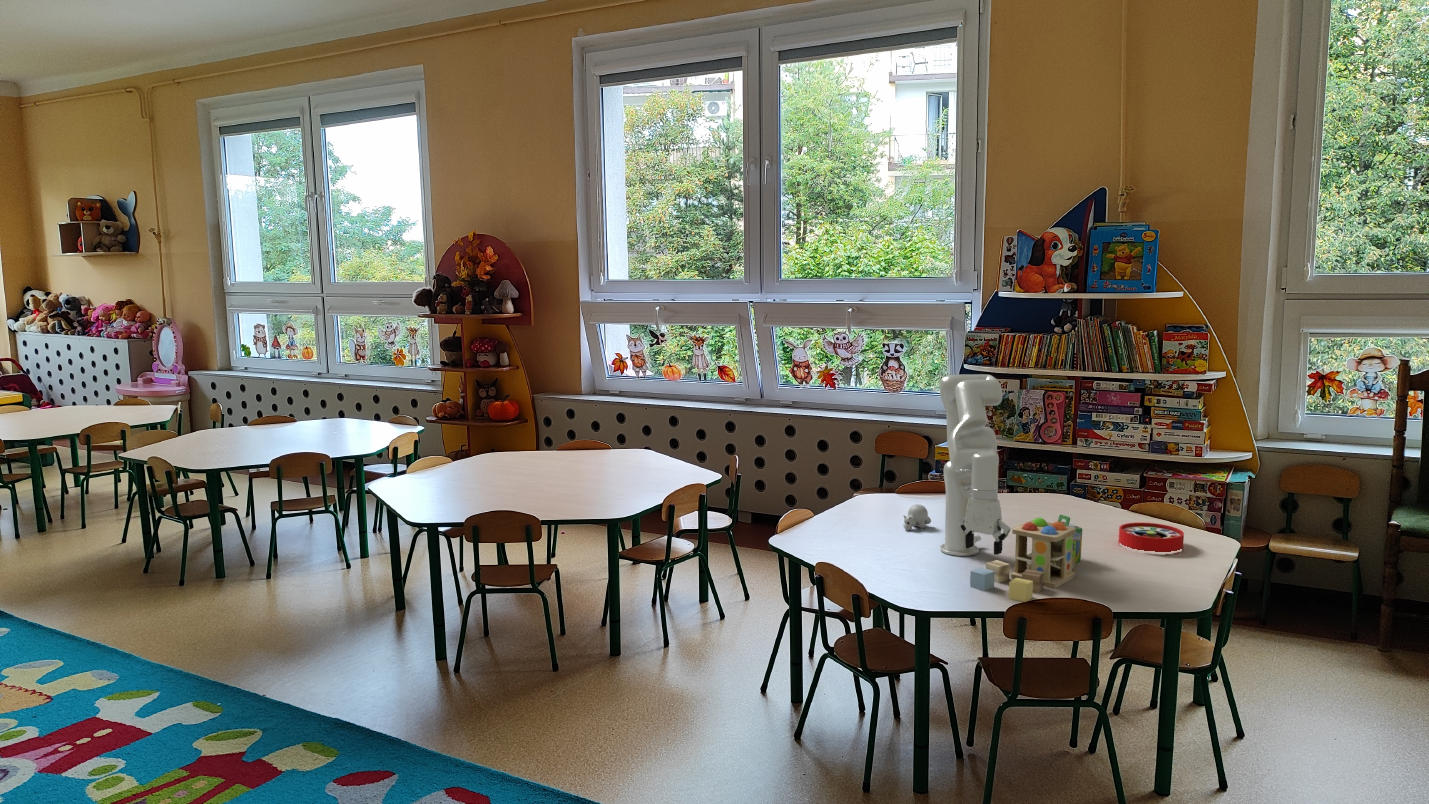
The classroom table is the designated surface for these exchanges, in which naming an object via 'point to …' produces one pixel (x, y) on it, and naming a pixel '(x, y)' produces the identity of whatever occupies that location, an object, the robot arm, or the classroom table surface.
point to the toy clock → (1151, 537)
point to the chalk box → (1074, 538)
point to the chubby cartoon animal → (916, 517)
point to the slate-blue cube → (982, 579)
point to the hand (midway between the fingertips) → (983, 550)
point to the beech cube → (999, 570)
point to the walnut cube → (1034, 579)
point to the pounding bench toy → (1045, 551)
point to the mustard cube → (1020, 589)
